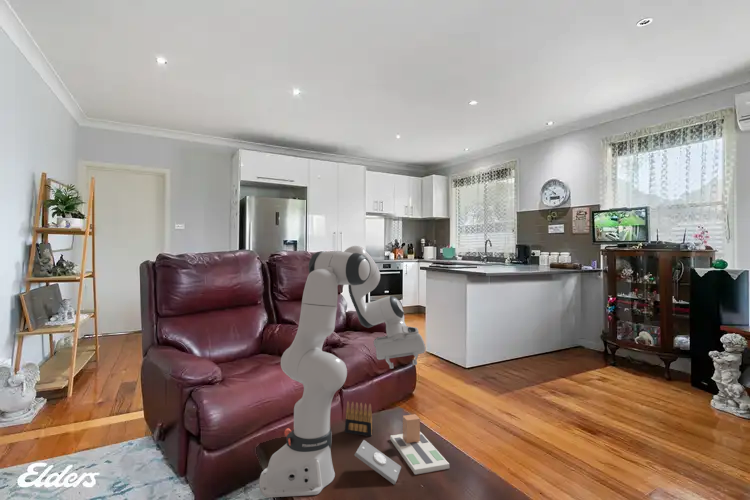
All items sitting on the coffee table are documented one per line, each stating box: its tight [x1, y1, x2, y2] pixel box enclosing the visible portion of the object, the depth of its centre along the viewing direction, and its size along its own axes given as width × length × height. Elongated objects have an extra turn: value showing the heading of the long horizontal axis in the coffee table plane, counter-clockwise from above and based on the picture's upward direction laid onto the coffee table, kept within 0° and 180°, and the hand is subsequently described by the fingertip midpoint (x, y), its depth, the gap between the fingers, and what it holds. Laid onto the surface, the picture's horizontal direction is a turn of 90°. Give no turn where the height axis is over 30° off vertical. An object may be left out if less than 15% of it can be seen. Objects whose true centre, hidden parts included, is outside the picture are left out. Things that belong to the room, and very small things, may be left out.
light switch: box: [354, 439, 402, 485], centre depth 119 cm, size 8×6×14 cm
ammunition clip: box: [344, 400, 373, 437], centre depth 145 cm, size 11×2×12 cm, turn 73°
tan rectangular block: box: [402, 413, 421, 443], centre depth 136 cm, size 5×4×8 cm
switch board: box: [389, 431, 450, 475], centre depth 131 cm, size 12×23×2 cm, turn 17°
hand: (403, 366), depth 150 cm, fingers open, 8 cm apart
